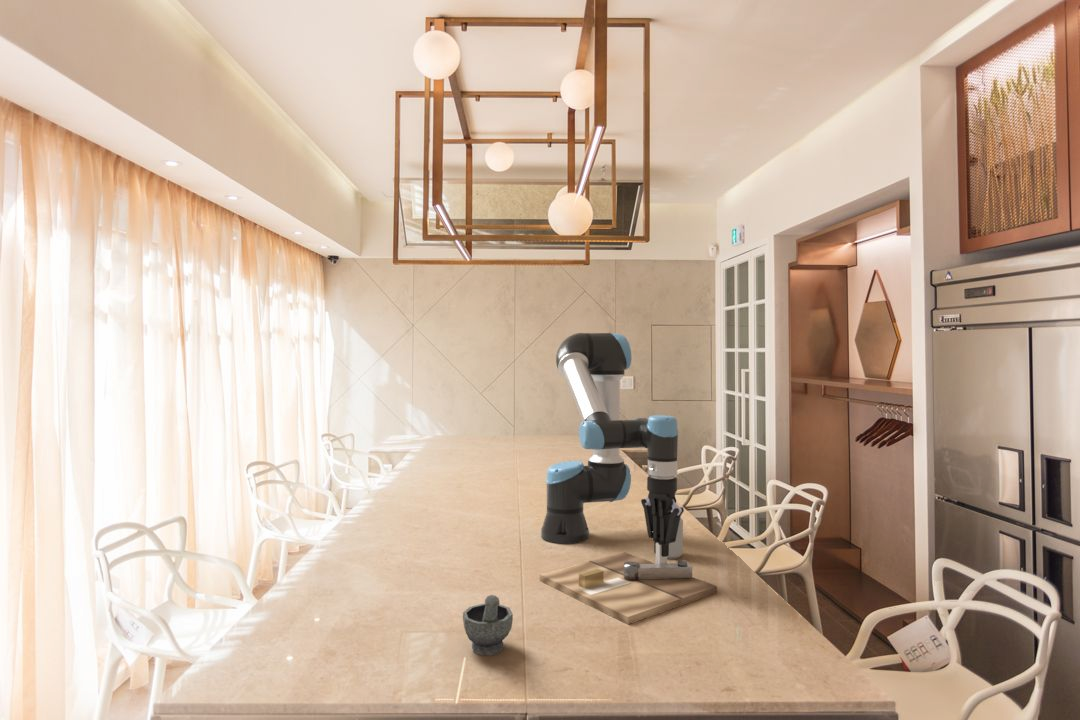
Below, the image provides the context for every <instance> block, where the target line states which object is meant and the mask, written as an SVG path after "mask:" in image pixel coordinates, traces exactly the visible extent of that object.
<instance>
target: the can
mask: <svg viewBox="0 0 1080 720" xmlns="http://www.w3.org/2000/svg"><path fill="white" fill-rule="evenodd" d="M681 517H682V516H681ZM681 517H680V522H679V527H678V531H677V536H676V541H675V542H673V543H669V555H668V556H667V560H668V559H670V560H671V559H675V560H676V559H679V558H680V557H681V556H682V555H683V553H684V521H683V519H682V518H681Z"/></svg>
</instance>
